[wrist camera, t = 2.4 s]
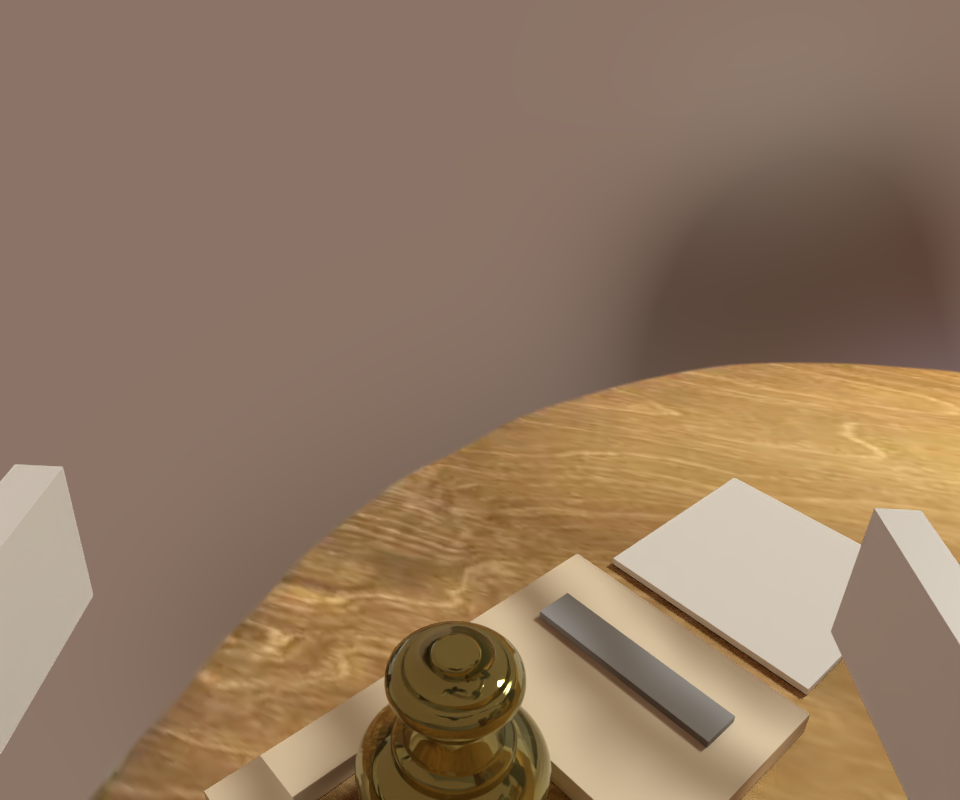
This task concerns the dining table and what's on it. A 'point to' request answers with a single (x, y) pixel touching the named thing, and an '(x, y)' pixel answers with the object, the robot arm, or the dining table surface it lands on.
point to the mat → (752, 578)
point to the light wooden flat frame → (583, 704)
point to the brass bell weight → (453, 722)
